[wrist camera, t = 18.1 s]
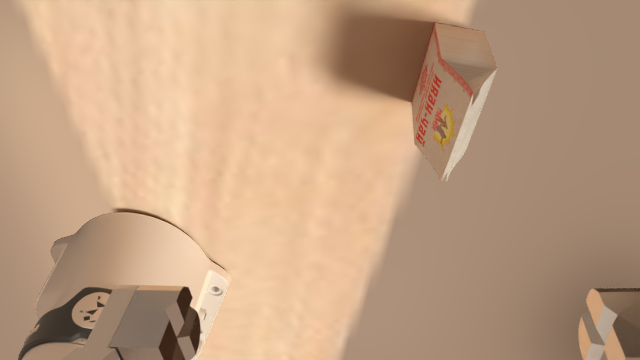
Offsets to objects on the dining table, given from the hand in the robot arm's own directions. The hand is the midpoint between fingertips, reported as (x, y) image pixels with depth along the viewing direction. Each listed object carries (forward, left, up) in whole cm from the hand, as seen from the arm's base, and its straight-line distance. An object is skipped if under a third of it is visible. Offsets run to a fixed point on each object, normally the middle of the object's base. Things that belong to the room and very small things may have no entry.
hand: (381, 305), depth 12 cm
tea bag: (-9, -7, -32) cm, 34 cm away
